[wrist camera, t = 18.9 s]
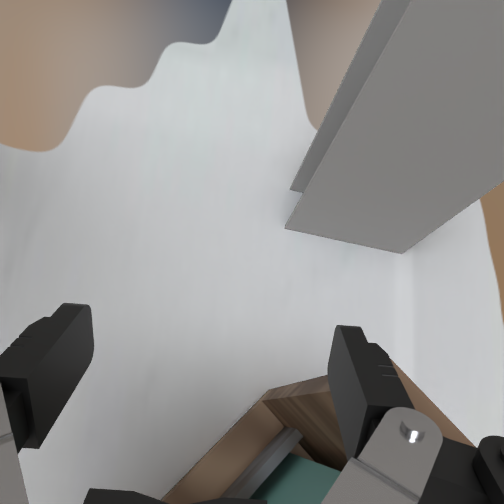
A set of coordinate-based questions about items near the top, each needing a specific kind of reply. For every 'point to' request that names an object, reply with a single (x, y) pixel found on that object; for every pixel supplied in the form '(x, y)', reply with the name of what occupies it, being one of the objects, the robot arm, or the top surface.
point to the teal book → (297, 482)
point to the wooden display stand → (283, 440)
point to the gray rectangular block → (409, 126)
